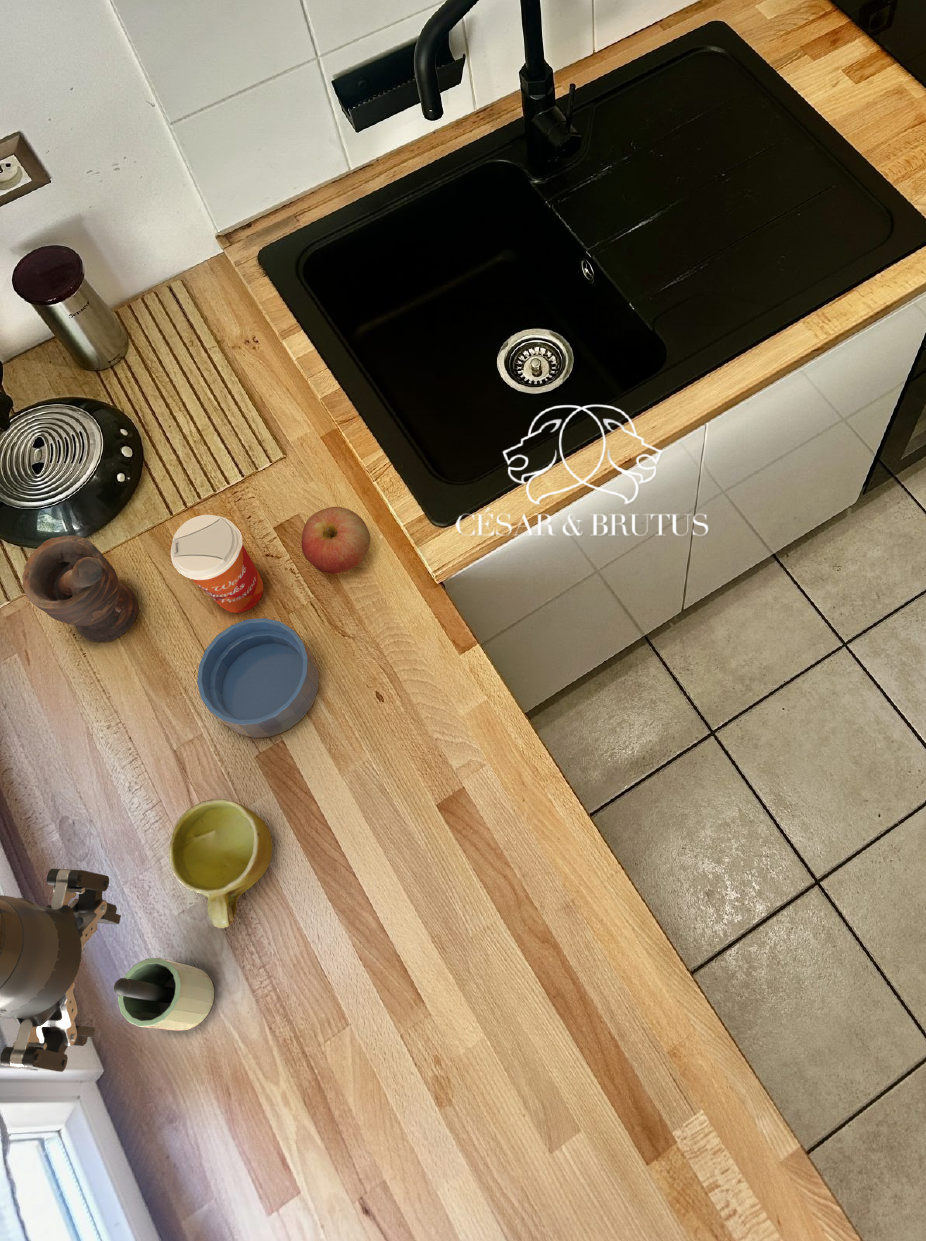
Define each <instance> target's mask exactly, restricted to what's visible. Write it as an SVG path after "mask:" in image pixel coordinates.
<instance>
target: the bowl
mask: <svg viewBox="0 0 926 1241" xmlns="http://www.w3.org/2000/svg"><path fill="white" fill-rule="evenodd" d="M197 670H198V671H197V677H196V678H197V679H196V684H197V689H198V692H199V697H200V699H201V701H202V703H203V704H204V705H205V707H206V708H207V710H208V712H210V713H211V714H212V715H213V716H214V717H215V718H216V719H218V720H219V721H220V722H221V723H222V724H223V725H225V727H227V728H229V729H230V730H231V731H233V732H235V733H236V734H238V735H241V736H245V737H248V738H254V739H255V738H270V737H274V736H276V735H278V734H281V733H283V732H286V731H288V730H290V729H291V728H292V727H293V726H295V725H297V724H298V723H299V722H300V721H302V720H303V718H304V717H305V715H307V713H308V712H309V710H310V709H311V707H312V706H313V704H314V702H315V699H316V696H317V694H318V691H319V684H320V682H319V681H320V680H319V678H320V672H319V668H318V665H317V660H316V659H315V657H314V655H313V654H312V652H311V651H310V650H309V648H308V647H307V646H306V645H305V643H304V642H303V640H302V639H301V638H300V636H299V635H298V634H297V632H296V631H295V630H294V629H293V628H291V627H290V626H288V625H286V624H285V623H284V622H282V621H280V620H275V619H272V618H267V617H258V618H247V619H245V620H241V621H239V622H237V623H233V624H231V625H230V626H228V627H227V628H225V629H224V630H223V631H221V632H220V633H218V634H217V635H216V636H215V637H214V638H213V640H212V641H211V642H210V643H209V645H208V646H207V647H206V648H205V650H204V652H203V654H202V657H201V659H200V662H199V664H198V669H197Z"/></svg>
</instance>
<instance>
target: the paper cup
mask: <svg viewBox="0 0 926 1241" xmlns="http://www.w3.org/2000/svg"><path fill="white" fill-rule="evenodd" d="M170 560H171V562H172V565H173V567H174V568H175V570H176V571H177V573H179V574H180V575H182V576H183V577H185V578H187V579H189V580H191V582H192V583H194V584H195V585H196V586H197V587H198V588H200V589H201V590H202V591H203V592H204V593H205V594H206V595H207V596H208V597H209V598H211V599H212V600H213V601H214V602H215V603H216V604H217V605H218V606H220V607H221V608H223V609H224V610H226V611H228V612H229V613H235V614H236V613H237V614H238V613H239V614H240V613H245V612H247V611H250V610H251V609H253V608H254V607H256V605H258V603H259V602H260V600H261V599H262V596H263V594H264V583H263V579H262V577H261V575H260V573H259V571H258V569H257V567H256V565H255V563H254V562H253V560H252V558H251V557H250V555H249V553H248V550H247V549H246V547H245V546H244V544H243V536H242V533H241V530H240V529H239V528H238V526H236V525H235V524H234V522H232V521H231V520H230V519H227V518H226V517H223V516H220V515H215V514H201V515H198V516H197V515H196V516H194V517H192V518H190V519H188V520H187V521H185V522H184V523H183V524H182V525H180V526H179V527H178V529H177V530H176V531H175V533H174V535H173V538H172V543H171V547H170Z"/></svg>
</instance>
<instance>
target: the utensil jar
mask: <svg viewBox="0 0 926 1241" xmlns="http://www.w3.org/2000/svg"><path fill="white" fill-rule="evenodd" d="M123 978H127V979H132V980H136V981H141V982H146V983H151V984H156V985H161V986H164V985H165V984H166V983H167V982H168V981H170V980H171V979H173V978H174V980H175V983H176V988H175V996H174V998H173V1000H172V1003H171V1005H170V1007H169V1008H168V1009H167V1010H166V1011H165V1012H164V1013H163V1012H162V1010H161V1008H160V1005H159V1002H156V1001H150V1000H144V999H138V998H132V997H127V996H121V995H117V1003H118V1007H119V1011H120V1014H121V1015H122V1016H123V1018H124V1019H125V1020H126V1021H127V1022H128V1023H129V1024H132V1025H135V1026H136V1027H140V1028H149V1029H159V1030H166V1031H174V1032H175V1031H187V1030H191V1029H194V1028H195V1027H197V1026H198V1025H200V1024H201V1023H202V1022H203V1021H204V1020H205V1019H206V1018H207V1016H208V1015H209V1013H210V1011H211V1010H212V1008H213V1005H214V1001H215V987H214V983H213V980H212V979H211V977H210V976H209V975H208V974H207V973H206V972H205V971H204V970H203V969H201V968H198V967H195V966H193V965H192V966H191V965H189V964H185V963H181V962H177V961H173V960H169V959H166V958H161V957H151V958H146V959H143V960H142V961H139V962H138V963H135V964H134V965H133V966H132V967H131V968H130V969H129V970H128V971H127V972H126V973H125V975H124V976H123Z"/></svg>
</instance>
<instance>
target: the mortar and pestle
mask: <svg viewBox="0 0 926 1241" xmlns="http://www.w3.org/2000/svg"><path fill="white" fill-rule="evenodd" d="M23 569H24V570H23V573H22V576H21V578H22V590H23V592H24V594H25V596H26V598H27V599H28V601H29V602H30V603H32V604H33V605H34V606H35V607H37V608H38V609H39V610H41V611H42V612H44V613H45V614H47V616H48V617H50V618H52V619H53V620H55V621H58V622H59V623H63V624H66V625H70V626H74V627H75V626H76V628H77V632H78V633H79V634H80V635H81V636H82V637H83V638H85V639H86V640H88V641H90V642H91V641H92V642H95V643H107V642H112V641H114V640H116V639H118V638H119V637H122V635H124V634H125V633H127V631H128V630H129V629H130V628H131V627H132V626H133V624H134V623H135V621H136V618H137V616H138V614H139V602H138V599H137V596H136V595H135V593H134V591H132V589H131V588H130V587H129V586H127V585H126V584H123V583H121V582H119V577H118V574H117V572H116V570H115V568H114V566H113V565H112V564H111V562H110V561H109V560H108V559H107V558H106V556H104V555H103V553H102V552H101V551H100V549H98V547H97V546H96V545H95V544H94V543H93V542H91V541H90V540H89V539H87V538H86V537H82V536H79V535H61V536H57V537H51V538H49V539H47V540H45V541H44V542H43V543H42V544H40V546H38V547H37V548H36V549H35V550H34V551H33V552H32V553H31V554H30V555H29V557H28V559H27V561H26V563H25V565H24V567H23Z"/></svg>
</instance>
